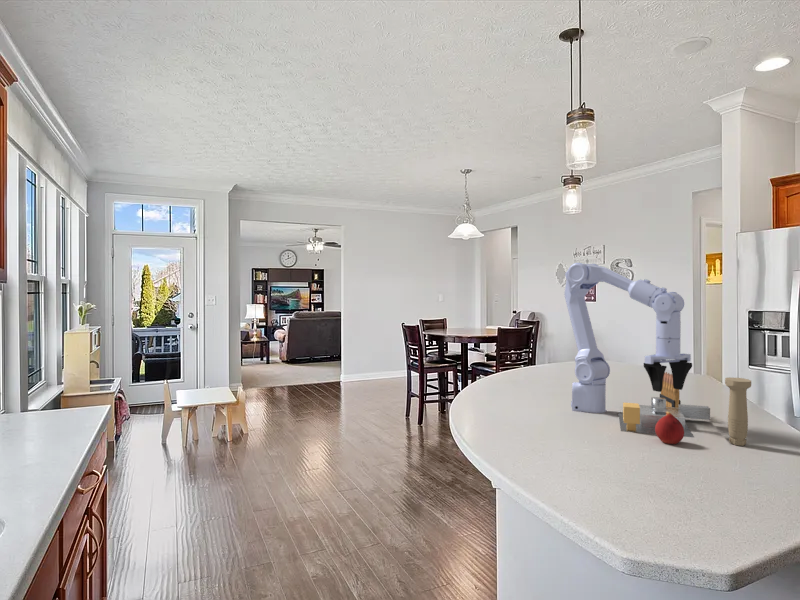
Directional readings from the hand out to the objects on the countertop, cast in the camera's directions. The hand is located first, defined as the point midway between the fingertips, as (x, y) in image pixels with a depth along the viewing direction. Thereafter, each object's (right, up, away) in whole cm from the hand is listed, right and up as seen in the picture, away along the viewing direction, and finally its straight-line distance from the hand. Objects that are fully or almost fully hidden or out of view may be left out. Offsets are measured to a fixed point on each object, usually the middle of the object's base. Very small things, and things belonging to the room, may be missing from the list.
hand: (667, 390), depth 137 cm
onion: (-9, -10, -18) cm, 22 cm away
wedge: (-12, -9, -6) cm, 16 cm away
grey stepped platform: (-2, -10, -2) cm, 10 cm away
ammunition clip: (+8, -10, +15) cm, 20 cm away
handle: (+8, -10, -16) cm, 20 cm away
